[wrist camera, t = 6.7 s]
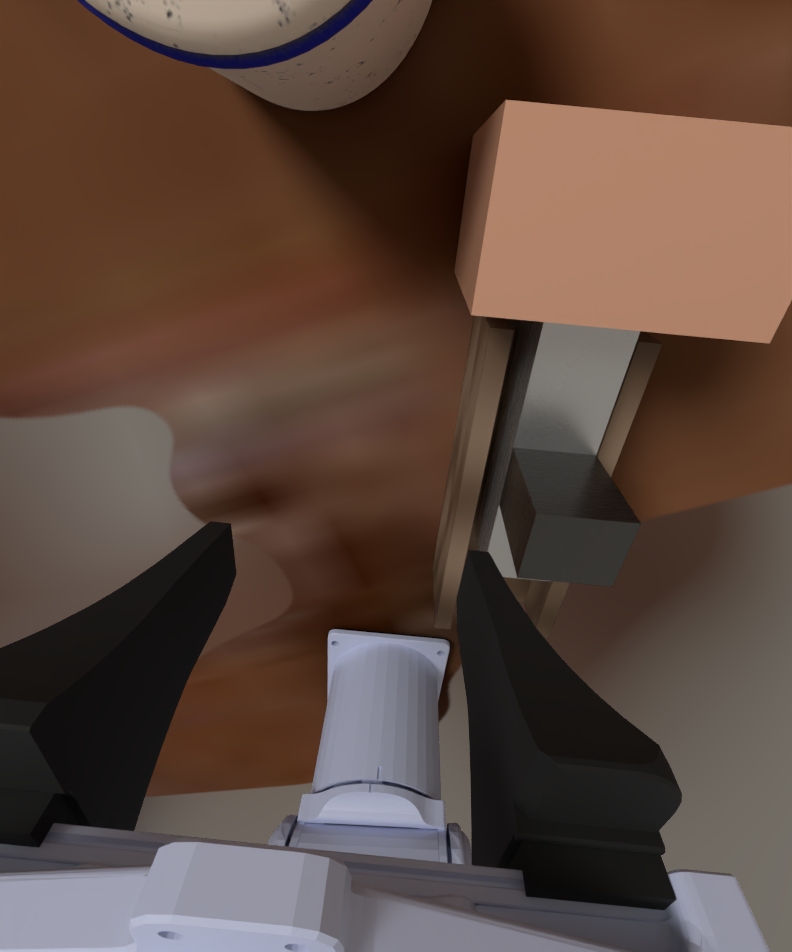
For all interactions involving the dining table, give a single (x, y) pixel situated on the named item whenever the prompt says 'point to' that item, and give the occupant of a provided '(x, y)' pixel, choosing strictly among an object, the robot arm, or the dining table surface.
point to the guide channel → (474, 454)
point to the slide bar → (558, 459)
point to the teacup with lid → (278, 42)
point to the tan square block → (628, 221)
